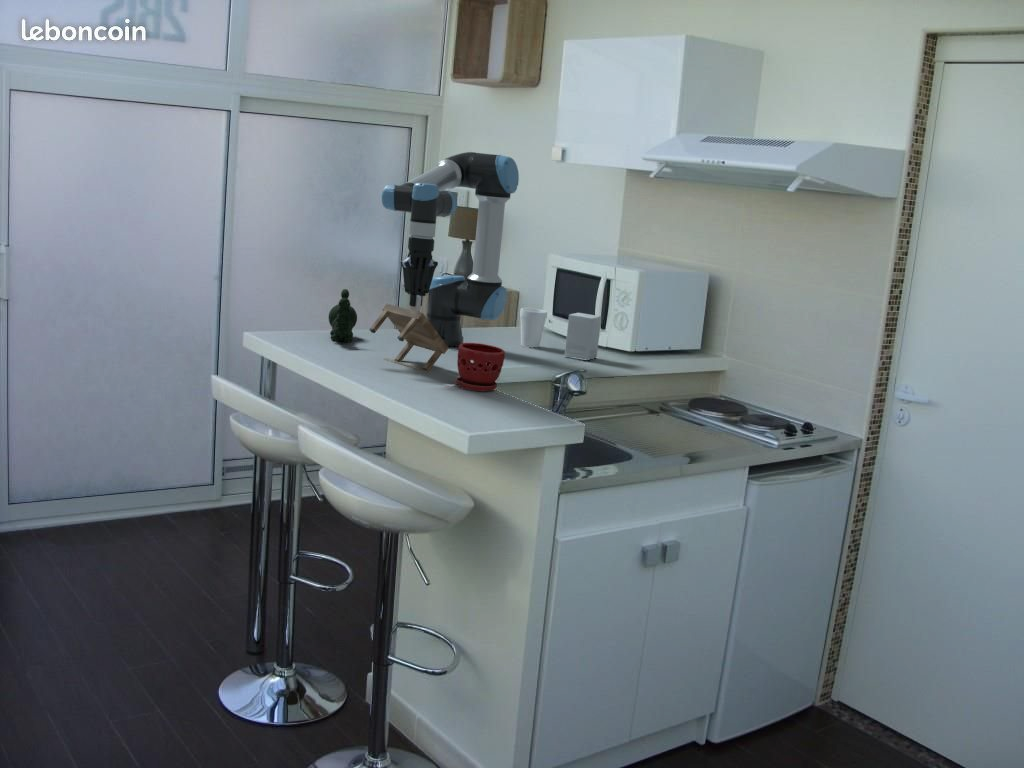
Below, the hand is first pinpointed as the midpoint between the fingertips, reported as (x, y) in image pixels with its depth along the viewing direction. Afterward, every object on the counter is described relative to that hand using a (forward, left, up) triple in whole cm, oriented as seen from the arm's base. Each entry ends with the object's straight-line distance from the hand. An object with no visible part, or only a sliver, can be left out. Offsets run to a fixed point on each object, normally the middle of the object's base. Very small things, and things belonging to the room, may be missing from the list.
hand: (414, 317), depth 325 cm
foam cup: (-71, -16, -16) cm, 75 cm away
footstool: (-4, 0, -12) cm, 13 cm away
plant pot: (-2, +27, -16) cm, 31 cm away
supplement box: (-74, +5, -16) cm, 76 cm away
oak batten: (+1, 0, -16) cm, 16 cm away
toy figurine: (-9, -44, -16) cm, 48 cm away
